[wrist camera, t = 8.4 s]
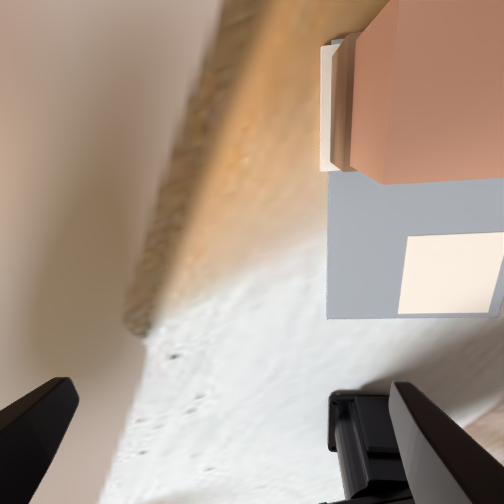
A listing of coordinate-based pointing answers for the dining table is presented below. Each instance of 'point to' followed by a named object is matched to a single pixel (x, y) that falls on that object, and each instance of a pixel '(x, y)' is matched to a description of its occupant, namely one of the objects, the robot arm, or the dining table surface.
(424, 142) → the terracotta block
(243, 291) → the dining table surface
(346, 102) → the block
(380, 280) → the board
